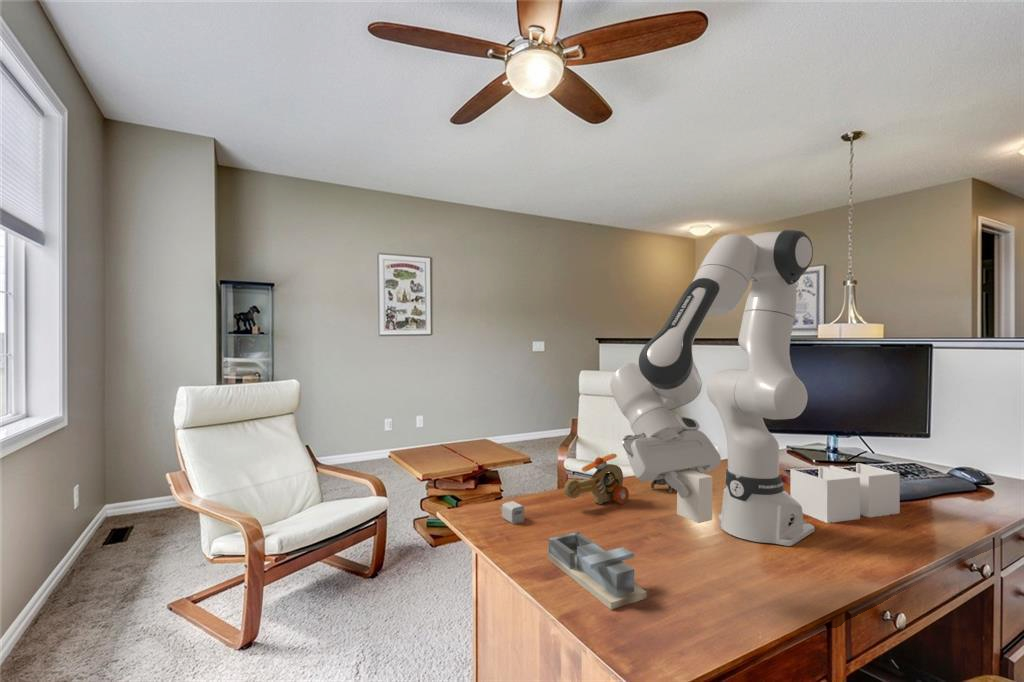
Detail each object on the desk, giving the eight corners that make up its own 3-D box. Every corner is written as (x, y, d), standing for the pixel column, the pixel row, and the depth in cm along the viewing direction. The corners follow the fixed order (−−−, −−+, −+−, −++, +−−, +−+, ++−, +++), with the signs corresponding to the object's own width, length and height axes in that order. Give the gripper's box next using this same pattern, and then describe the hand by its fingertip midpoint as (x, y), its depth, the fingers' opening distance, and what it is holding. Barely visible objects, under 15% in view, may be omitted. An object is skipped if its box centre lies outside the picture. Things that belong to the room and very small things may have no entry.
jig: (582, 550, 102) (582, 522, 102) (651, 596, 83) (651, 563, 83) (543, 559, 97) (543, 530, 97) (606, 611, 79) (606, 575, 79)
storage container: (827, 523, 118) (827, 480, 118) (790, 508, 128) (790, 469, 128) (899, 514, 124) (899, 473, 124) (859, 500, 135) (859, 463, 135)
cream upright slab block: (690, 511, 89) (690, 469, 89) (712, 520, 85) (712, 476, 85) (677, 514, 88) (677, 471, 88) (698, 523, 83) (698, 478, 83)
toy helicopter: (631, 502, 133) (632, 454, 133) (576, 516, 121) (576, 464, 122) (611, 494, 139) (611, 448, 140) (556, 507, 128) (556, 457, 128)
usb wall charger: (511, 524, 116) (511, 508, 116) (496, 516, 122) (496, 501, 122) (524, 520, 119) (524, 505, 119) (508, 512, 124) (508, 497, 124)
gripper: (626, 426, 88) (664, 493, 79) (702, 419, 97) (743, 478, 88) (610, 445, 92) (645, 511, 83) (685, 437, 101) (723, 495, 92)
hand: (697, 494), depth 86 cm, fingers closed on cream upright slab block, 3 cm apart
